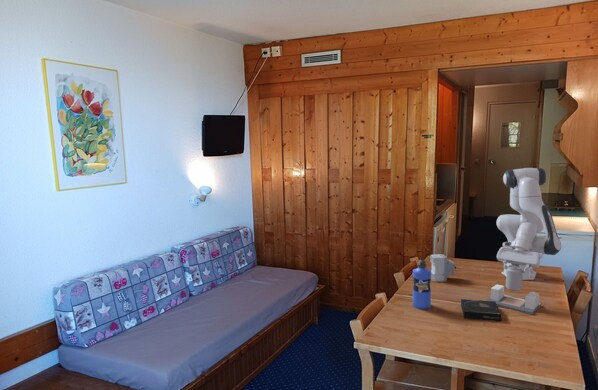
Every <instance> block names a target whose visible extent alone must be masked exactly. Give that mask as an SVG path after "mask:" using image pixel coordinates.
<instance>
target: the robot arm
mask: <svg viewBox="0 0 598 390" xmlns="http://www.w3.org/2000/svg"><path fill="white" fill-rule="evenodd" d="M547 177H548V176H547V172H546V170H545V169H544V168H541V167H524V168H523V167H522V168H515V169H507V170H505V172H504V173H503V176H502V181H503V184H504V185H505V186H506V188H510V189H509V190H510V191H509V192H510V193H509V206H510V207H511V209H513V210H514V211H516V212H518V213H519V214H511V213H510V214H509V213H508V214H500V215H499V216H498V217H497V219H496V226H497V229H498V230H499V231H500V232H502V234H504V235H505V237H506V239H507V241H505V242H502V246H501V247H500V248H499V250H498V251H497V254H496V260H497V261H498V262H502V263H503V271H501V274H502V275H503V276H505V277H506V269H507V268H508V266H509V265H516V266H520V267H521V269H522V273H523V277H522V281H529V280H530V281H533V280H535V279H536V276H537V272H536V271H534V270H533V268H535V269H538V268H539V267H540V264H541V259H542V258H543V255H550V256H556V255H557V254H559V252H560V251H561V250H562V244H561V240H560V238H559V236H558V233H557V230H556V226H555V222H554V219H553V215H552V212H551V210H550V208H549V206H547V205H546V204H544V201H543V199H542V191H541V186H543V185H545V183H546V181H547ZM543 230H544V232H545V234H544V235H540V236H539V235H538V234H540V233H541V232H542V231H543Z"/></svg>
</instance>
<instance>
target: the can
mask: <svg viewBox="0 0 598 390" xmlns="http://www.w3.org/2000/svg"><path fill="white" fill-rule="evenodd" d="M522 277H523V273H522V269H521V267H520V266H516V265H509V266H508V268H507V269H506V276H505V287H506V289H508V290H509V291H513V292H518V291H519V292H520V291H521V290H522V289H523V280H522Z"/></svg>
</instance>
